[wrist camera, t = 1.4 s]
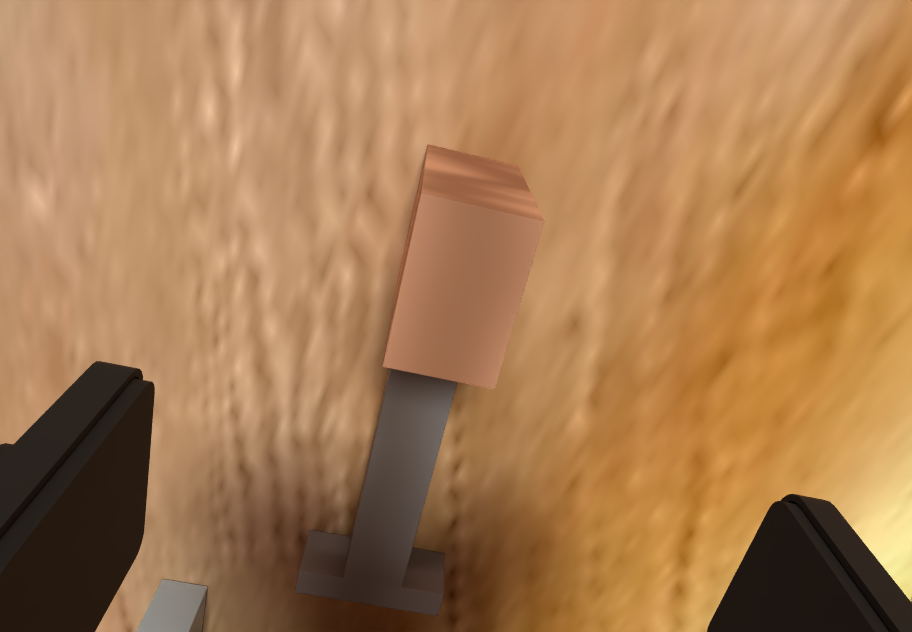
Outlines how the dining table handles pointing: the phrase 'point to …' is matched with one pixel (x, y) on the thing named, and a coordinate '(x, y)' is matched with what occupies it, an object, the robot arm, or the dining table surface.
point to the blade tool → (431, 371)
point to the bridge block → (175, 608)
